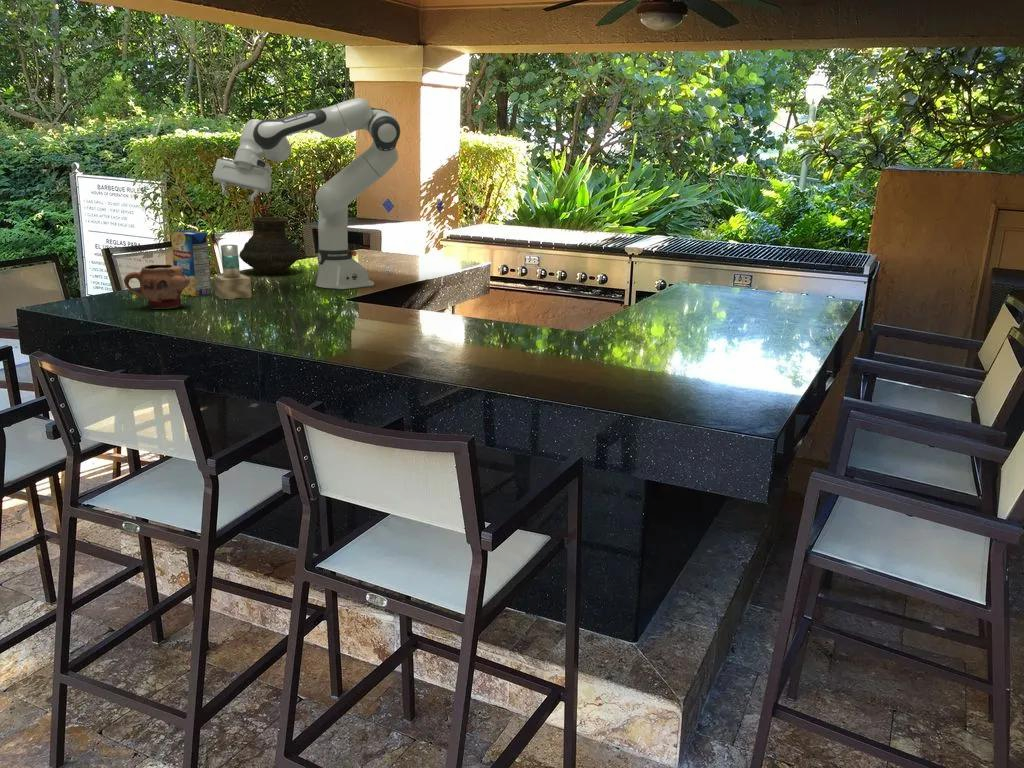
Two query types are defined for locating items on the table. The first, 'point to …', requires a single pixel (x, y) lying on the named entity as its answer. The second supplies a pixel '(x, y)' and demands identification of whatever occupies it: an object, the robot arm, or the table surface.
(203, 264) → the beverage box
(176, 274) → the decorative planter
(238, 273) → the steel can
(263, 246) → the ceramic pot
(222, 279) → the oak block
